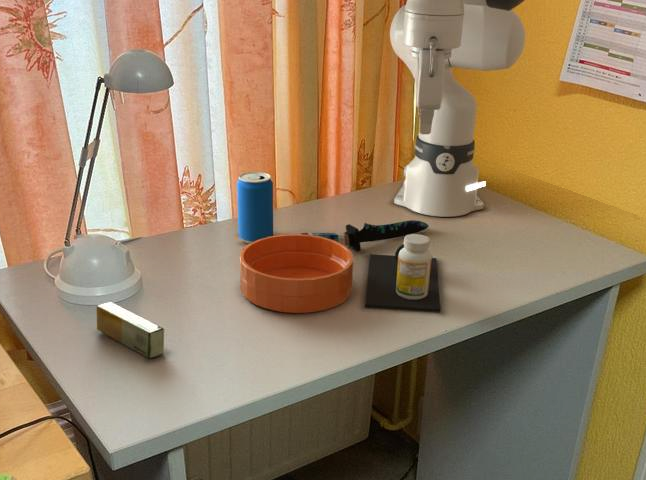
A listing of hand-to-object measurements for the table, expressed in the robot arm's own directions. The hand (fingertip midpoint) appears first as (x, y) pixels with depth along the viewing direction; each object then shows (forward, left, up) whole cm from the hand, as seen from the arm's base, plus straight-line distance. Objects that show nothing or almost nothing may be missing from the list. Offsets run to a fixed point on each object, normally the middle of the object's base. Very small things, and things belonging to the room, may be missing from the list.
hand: (424, 125), depth 127 cm
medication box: (+32, -40, -25) cm, 57 cm away
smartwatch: (+2, -1, -25) cm, 25 cm away
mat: (+6, -1, -25) cm, 26 cm away
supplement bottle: (+11, 0, -25) cm, 27 cm away
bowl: (+11, -19, -25) cm, 33 cm away
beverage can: (-9, -29, -25) cm, 40 cm away
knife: (-9, -8, -25) cm, 28 cm away
